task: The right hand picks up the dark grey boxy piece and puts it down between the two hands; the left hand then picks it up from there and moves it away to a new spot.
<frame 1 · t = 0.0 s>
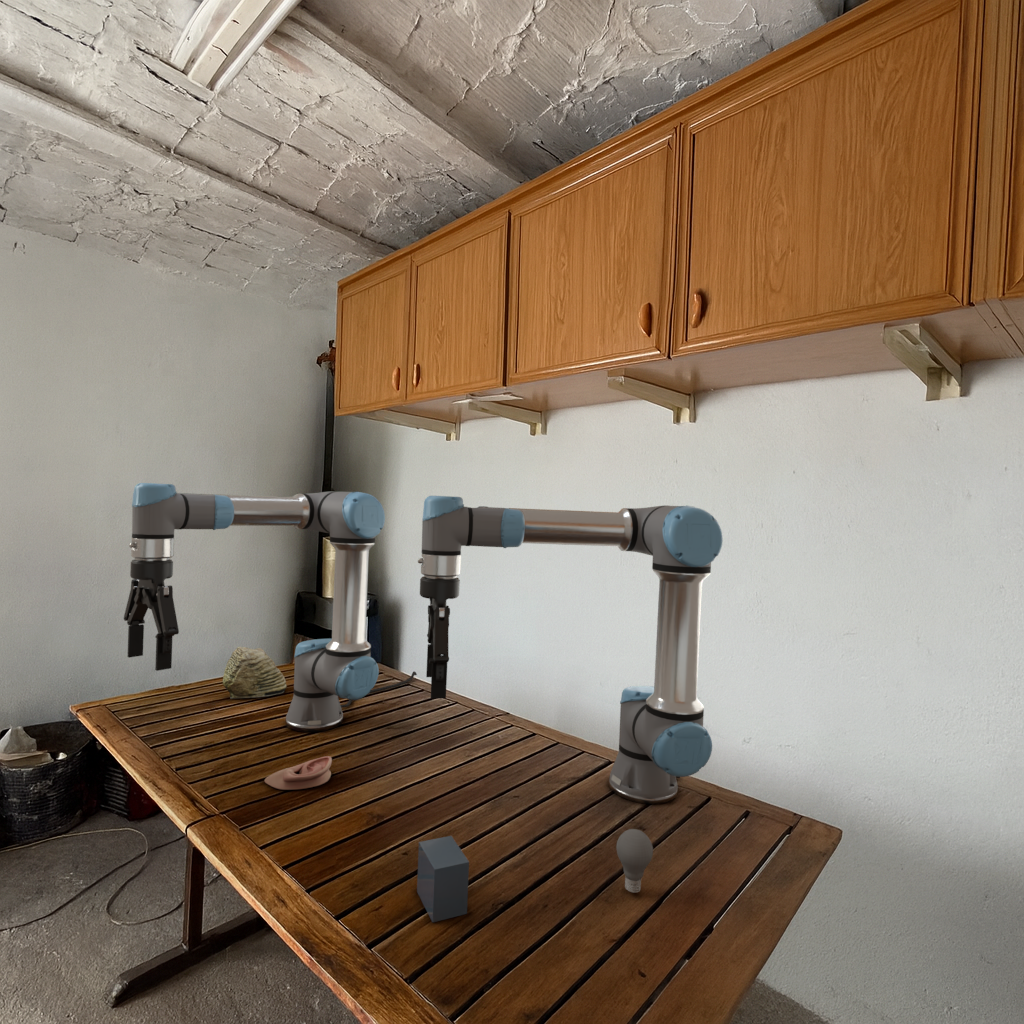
left hand: (148, 662, 129), 28 cm above the table, tool pointing down, fingers open, 13 cm apart
right hand: (435, 686, 121), 28 cm above the table, tool pointing down, fingers open, 13 cm apart
dark grey boxy piece: (441, 902, 101), on the table
anatomical model: (298, 780, 141), on the table
light bulb: (632, 891, 106), on the table
fossil: (254, 694, 198), on the table
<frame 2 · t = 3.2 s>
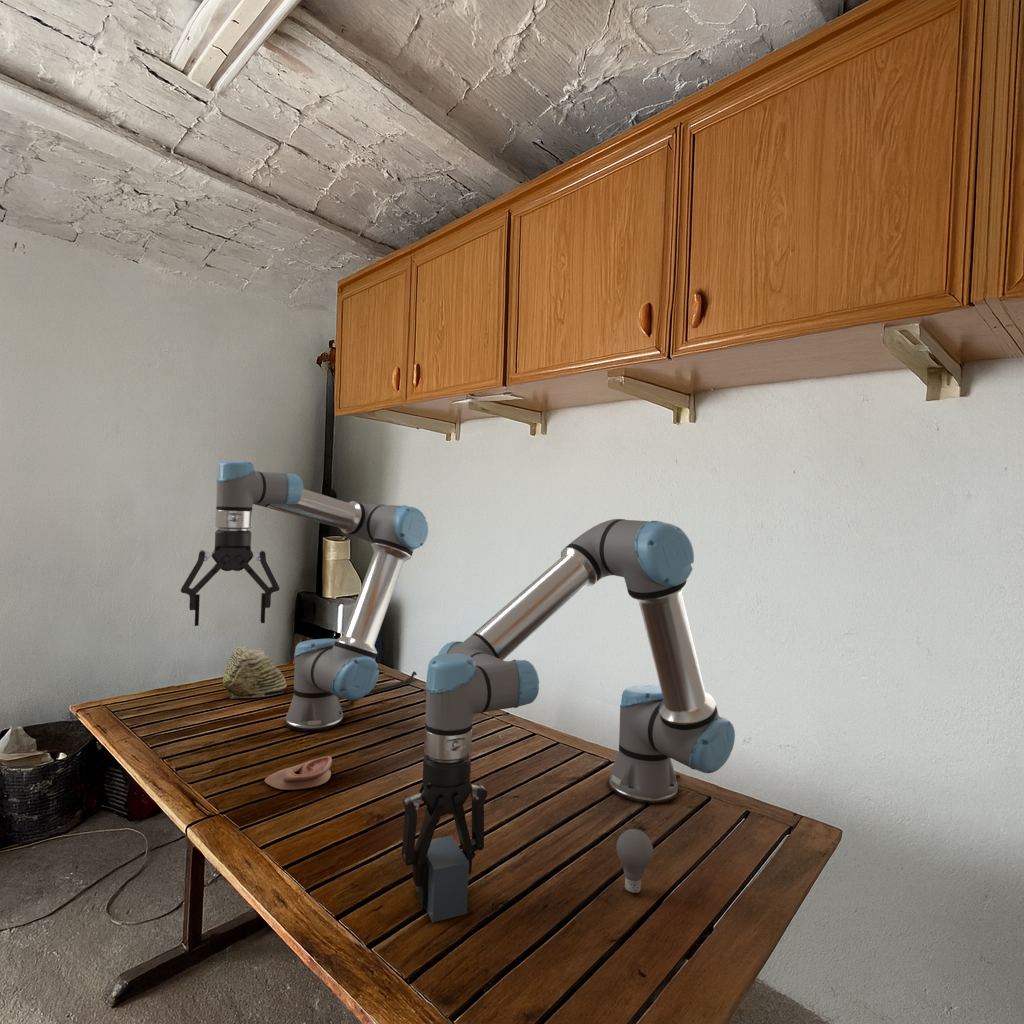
left hand: (230, 623, 143), 34 cm above the table, tool pointing down, fingers open, 13 cm apart
right hand: (441, 898, 101), 1 cm above the table, tool pointing down, fingers closed on dark grey boxy piece, 6 cm apart
dark grey boxy piece: (441, 902, 101), on the table, touching right hand
everything else where it was.
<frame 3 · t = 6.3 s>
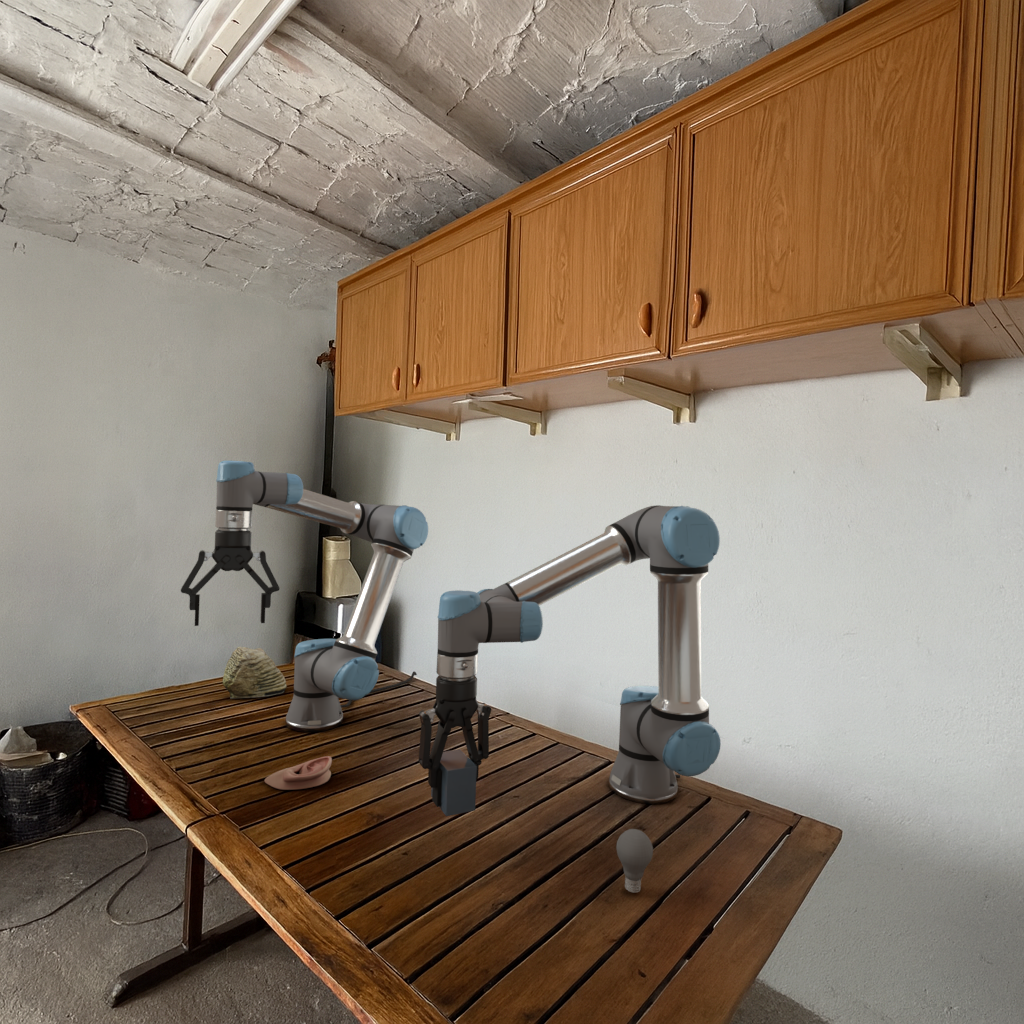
left hand: (230, 623, 143), 34 cm above the table, tool pointing down, fingers open, 13 cm apart
right hand: (452, 799, 117), 9 cm above the table, tool pointing down, fingers closed on dark grey boxy piece, 6 cm apart
dark grey boxy piece: (452, 803, 117), point 8 cm above the table, touching right hand
everything else where it was.
when the right hand's fingers open (2 cm above the table, at t = 9.5 s): dark grey boxy piece drops 1 cm, on the table.
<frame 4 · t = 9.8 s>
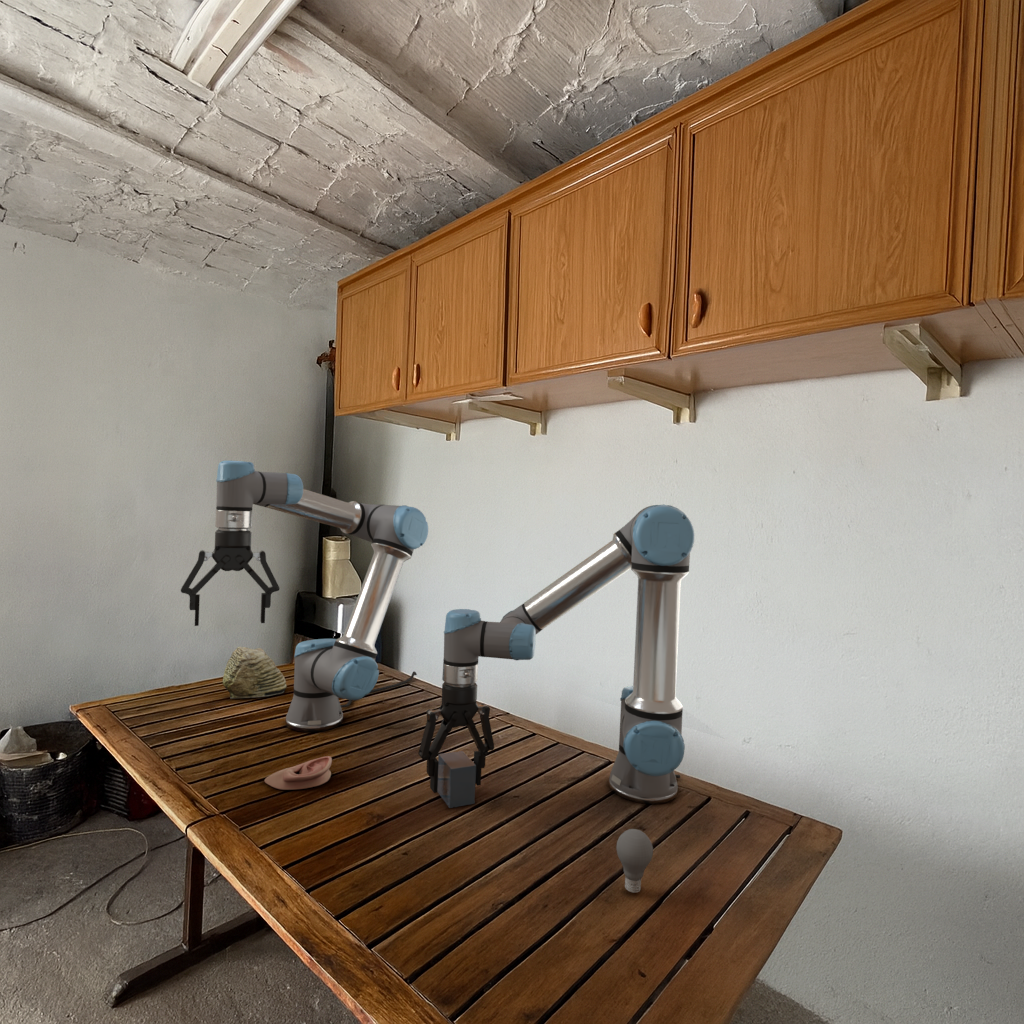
left hand: (230, 623, 143), 34 cm above the table, tool pointing down, fingers open, 13 cm apart
right hand: (455, 786, 136), 2 cm above the table, tool pointing down, fingers open, 9 cm apart
dark grey boxy piece: (455, 797, 136), on the table
everything else where it was.
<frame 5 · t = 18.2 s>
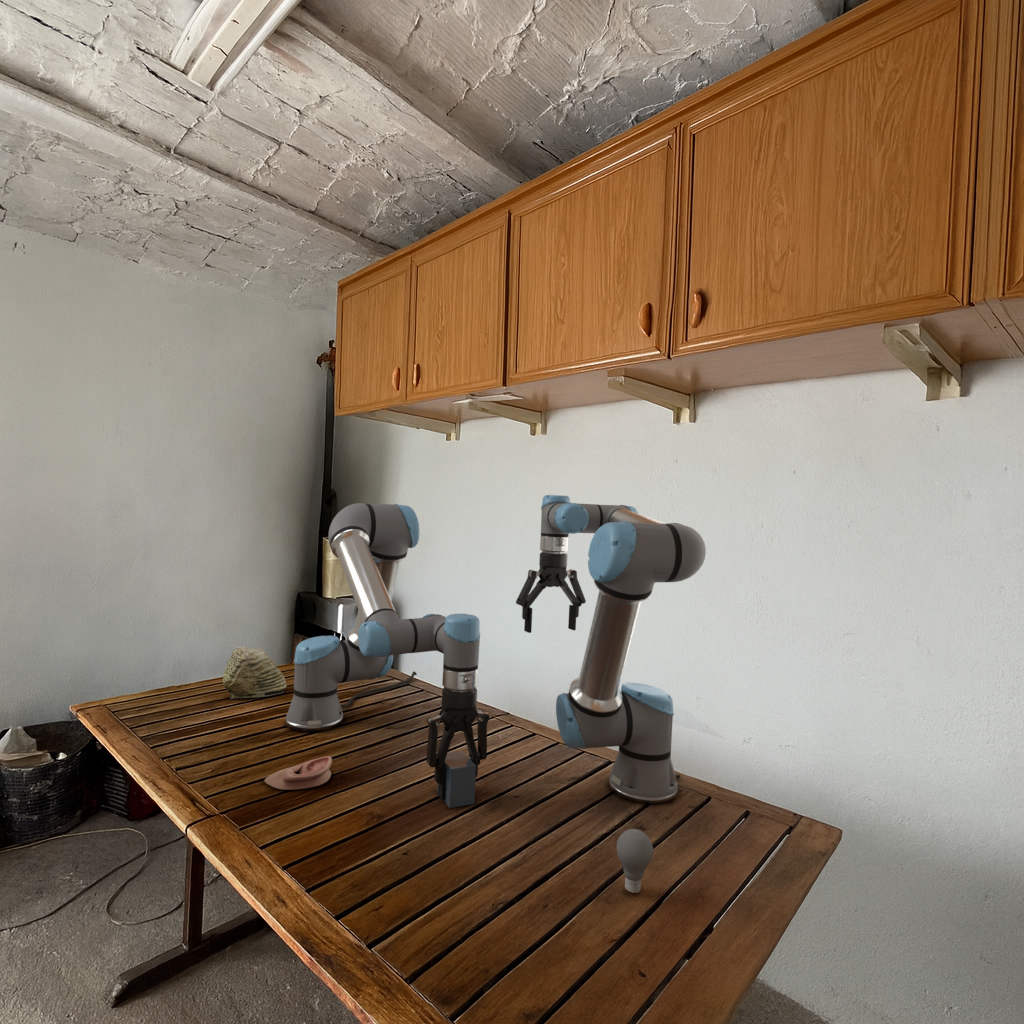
left hand: (455, 794, 136), 1 cm above the table, tool pointing down, fingers closed on dark grey boxy piece, 6 cm apart
right hand: (550, 630, 171), 30 cm above the table, tool pointing down, fingers open, 13 cm apart
dark grey boxy piece: (455, 797, 136), on the table, touching left hand
everything else where it was.
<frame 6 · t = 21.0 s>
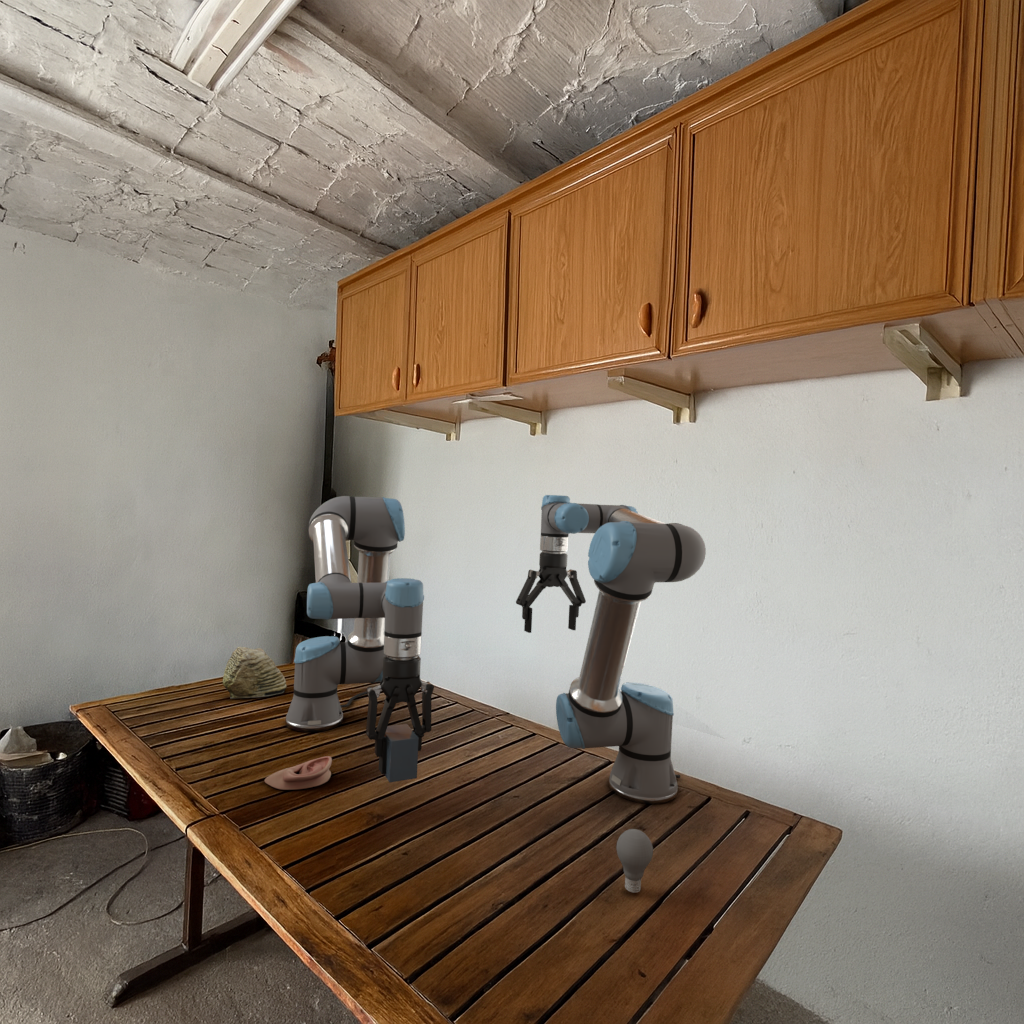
left hand: (397, 768, 129), 9 cm above the table, tool pointing down, fingers closed on dark grey boxy piece, 6 cm apart
right hand: (550, 630, 171), 30 cm above the table, tool pointing down, fingers open, 13 cm apart
dark grey boxy piece: (397, 772, 129), point 8 cm above the table, touching left hand
everything else where it was.
when the left hand's fingers open (2 cm above the table, at t = 24.1 s): dark grey boxy piece stays where it is, on the table.
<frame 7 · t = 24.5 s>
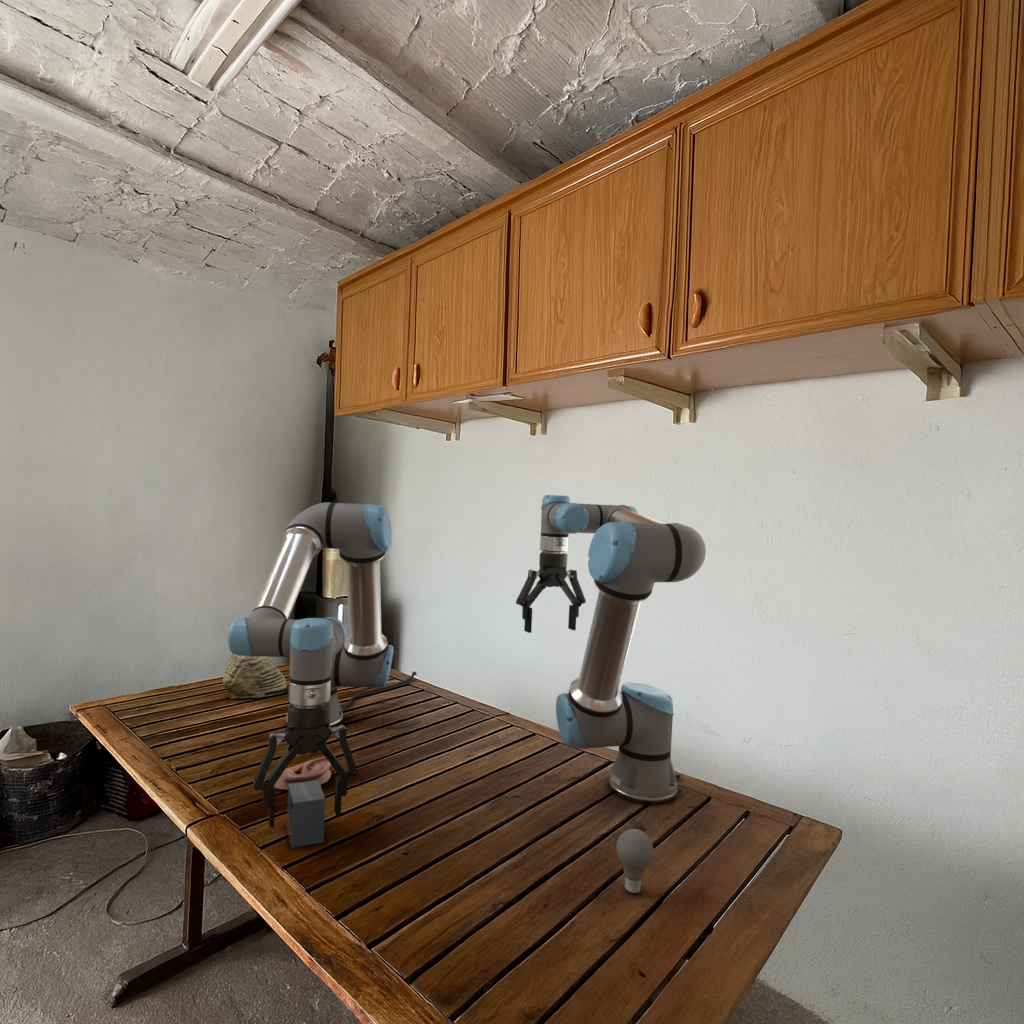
left hand: (305, 818, 119), 3 cm above the table, tool pointing down, fingers open, 11 cm apart
right hand: (550, 630, 171), 30 cm above the table, tool pointing down, fingers open, 13 cm apart
dark grey boxy piece: (304, 834, 119), on the table
everything else where it was.
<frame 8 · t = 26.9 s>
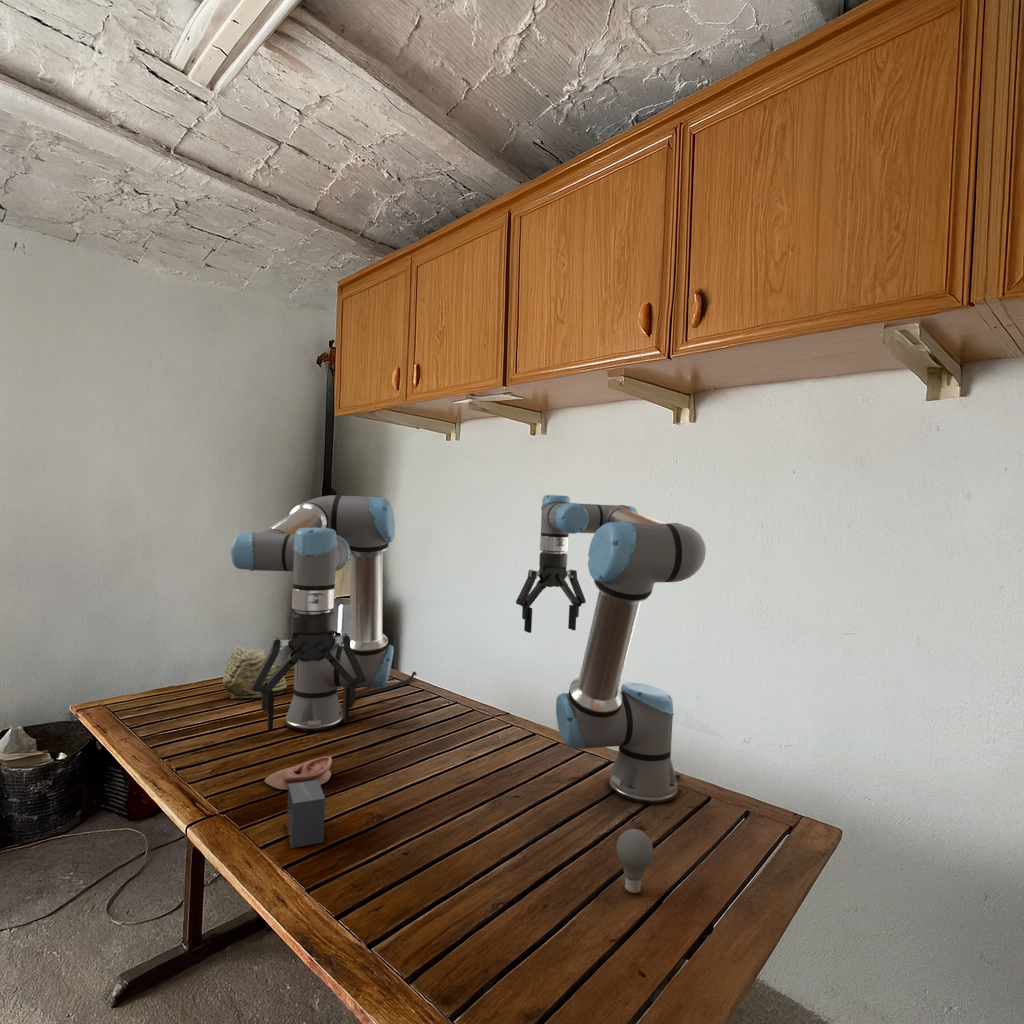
left hand: (308, 723, 119), 21 cm above the table, tool pointing down, fingers open, 13 cm apart
right hand: (550, 630, 171), 30 cm above the table, tool pointing down, fingers open, 13 cm apart
nothing on the table moved.
at the end: dark grey boxy piece inside the target area (0.0 cm from its centre), on the table; dark grey boxy piece tilted 0°; the two hands never held the dark grey boxy piece at the same time; the left hand is holding nothing; the right hand is holding nothing; dark grey boxy piece at rest at the end (0.0 cm/s) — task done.
